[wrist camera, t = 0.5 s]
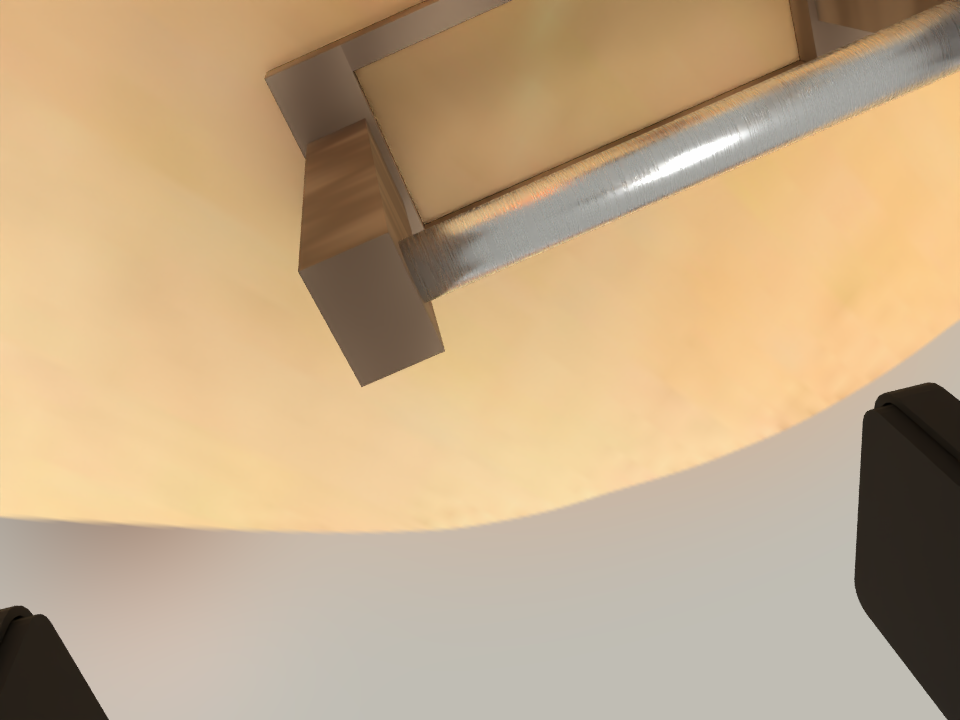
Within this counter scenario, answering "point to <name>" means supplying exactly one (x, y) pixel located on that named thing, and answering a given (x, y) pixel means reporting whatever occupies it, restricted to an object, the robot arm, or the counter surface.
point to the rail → (686, 152)
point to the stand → (383, 194)
